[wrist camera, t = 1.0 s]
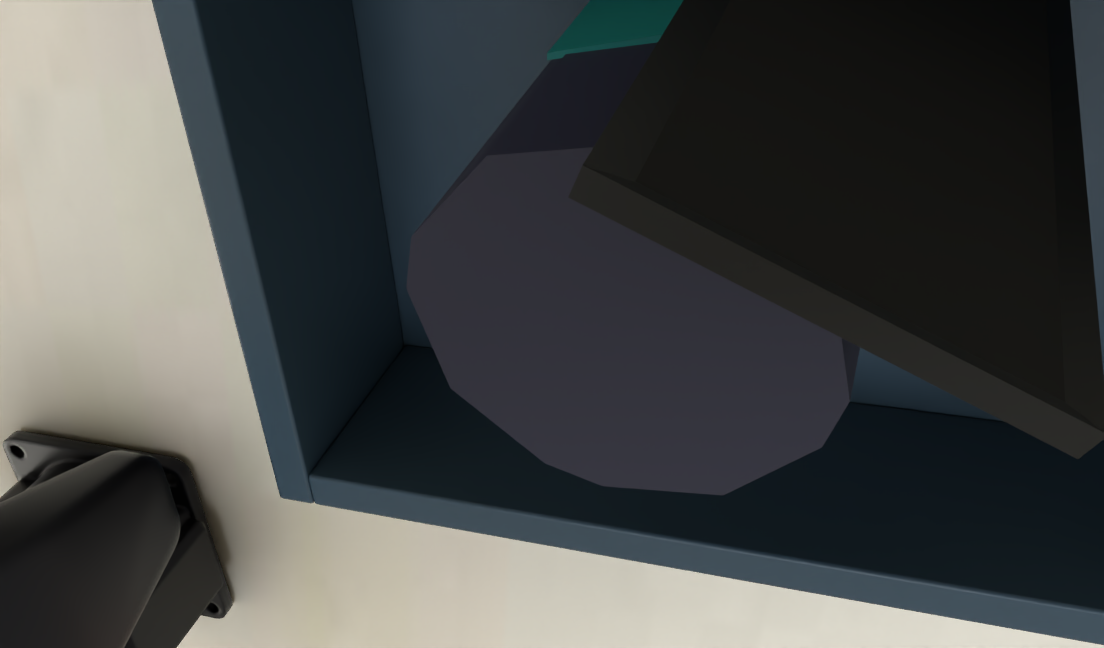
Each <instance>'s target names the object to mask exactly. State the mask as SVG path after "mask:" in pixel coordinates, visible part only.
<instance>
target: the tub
mask: <svg viewBox="0 0 1104 648" xmlns="http://www.w3.org/2000/svg"><path fill="white" fill-rule="evenodd" d="M589 1H590V0H152V3H153V7H154V10H155V14H156V18H157V22H158V26H159V30H160V34H161V37H162V41H163V45H164V49H165V53H166V57H167V61H168V65H169V68H170V72H171V76H172V80H173V84H174V88H175V92H176V95H177V99H178V103H179V107H180V111H181V115H182V119H183V123H184V126H185V130H186V134H187V138H188V142H189V146H190V150H191V153H192V157H193V161H194V165H195V169H196V173H197V177H198V180H199V184H200V188H201V192H202V196H203V200H204V204H205V208H206V211H207V215H208V219H209V223H210V227H211V231H212V235H213V238H214V242H215V246H216V250H217V254H218V258H219V262H220V266H221V269H222V273H223V277H224V281H225V285H226V289H227V293H228V296H229V300H230V304H231V308H232V312H233V316H234V320H235V324H236V327H237V331H238V335H239V339H240V343H241V347H242V351H243V354H244V358H245V362H246V366H247V370H248V374H249V378H250V381H251V385H252V389H253V393H254V397H255V401H256V405H257V409H258V412H259V416H260V420H261V424H262V428H263V432H264V436H265V439H266V443H267V447H268V451H269V455H270V459H271V463H272V467H273V470H274V474H275V478H276V482H277V486H278V490H279V494H280V496H281V497H282V498H284V499H290V500H296V501H301V502H307V503H313V502H315V503H316V504H319V505H325V506H330V507H336V508H341V509H347V510H353V511H358V512H364V513H369V514H375V515H380V516H386V517H392V518H397V519H403V520H408V521H414V522H420V523H425V524H431V525H436V526H442V527H447V528H453V529H459V530H464V531H470V532H475V533H481V534H487V535H492V536H498V537H503V538H509V539H514V540H520V541H526V542H531V543H537V544H542V545H548V546H554V547H559V548H565V549H570V550H576V551H581V552H587V553H593V554H598V555H604V556H609V557H615V558H621V559H626V560H632V561H637V562H643V563H648V564H654V565H660V566H665V567H671V568H676V569H682V570H688V571H693V572H699V573H704V574H710V575H715V576H721V577H727V578H732V579H738V580H743V581H749V582H755V583H760V584H766V585H771V586H777V587H782V588H788V589H794V590H799V591H805V592H810V593H816V594H822V595H827V596H833V597H838V598H844V599H849V600H855V601H861V602H866V603H872V604H877V605H883V606H889V607H894V608H900V609H905V610H911V611H916V612H922V613H928V614H933V615H939V616H944V617H950V618H956V619H961V620H967V621H972V622H978V623H983V624H989V625H995V626H1000V627H1006V628H1011V629H1017V630H1023V631H1028V632H1034V633H1039V634H1045V635H1051V636H1056V637H1062V638H1067V639H1073V640H1078V641H1084V642H1090V643H1095V644H1101V645H1104V440H1102V441H1101V442H1100V443H1098V444H1097V445H1096V446H1095V447H1093V448H1092V449H1091V450H1089V451H1088V452H1087V453H1086V454H1084V455H1083V456H1082V457H1080V458H1079V459H1076V458H1074V457H1072V456H1070V455H1068V454H1067V453H1065V452H1063V451H1061V450H1059V449H1057V448H1055V447H1053V446H1051V445H1049V444H1047V443H1045V442H1043V441H1041V440H1039V439H1037V438H1035V437H1033V436H1032V435H1030V434H1028V433H1026V432H1024V431H1022V430H1020V429H1018V428H1016V427H1014V426H1012V425H1010V424H1008V423H1006V422H1004V421H1002V420H1000V419H998V418H996V417H995V416H993V415H991V414H989V413H987V412H985V411H983V410H981V409H979V408H977V407H975V406H973V405H971V404H969V403H967V402H965V401H963V400H961V399H960V398H958V397H956V396H954V395H952V394H950V393H948V392H946V391H944V390H942V389H940V388H938V387H936V386H934V385H932V384H930V383H928V382H926V381H924V380H923V379H921V378H919V377H917V376H915V375H913V374H911V373H909V372H907V371H905V370H903V369H901V368H899V367H897V366H895V365H893V364H891V363H889V362H888V361H886V360H884V359H882V358H880V357H878V356H876V355H874V354H872V353H870V352H868V351H866V350H864V349H862V348H860V351H859V356H858V362H857V367H856V372H855V377H854V382H853V388H852V393H851V398H850V402H849V404H848V405H847V407H846V409H845V410H844V412H843V414H842V415H841V417H840V419H839V420H838V422H837V424H836V425H835V427H834V429H833V430H832V432H831V433H830V435H829V437H828V438H827V440H826V442H825V443H824V445H823V447H822V448H820V449H818V450H816V451H814V452H812V453H810V454H807V455H805V456H803V457H801V458H799V459H797V460H795V461H793V462H791V463H789V464H787V465H785V466H783V467H781V468H779V469H777V470H775V471H772V472H770V473H768V474H766V475H764V476H762V477H760V478H758V479H756V480H754V481H752V482H750V483H748V484H746V485H744V486H742V487H740V488H737V489H735V490H733V491H731V492H729V493H727V494H725V495H711V494H698V493H685V492H671V491H658V490H645V489H632V488H619V487H605V486H601V485H598V484H596V483H593V482H591V481H588V480H586V479H583V478H581V477H578V476H576V475H573V474H571V473H568V472H565V471H563V470H560V469H558V468H555V467H553V466H550V465H548V464H545V463H544V462H543V461H541V460H540V459H539V458H538V457H536V456H535V455H534V454H532V453H531V452H530V451H529V450H527V449H526V448H525V447H524V446H522V445H521V444H520V443H519V442H517V441H516V440H515V439H514V438H512V437H511V436H510V435H509V434H507V433H506V432H505V431H504V430H502V429H501V428H500V427H499V426H497V425H496V424H495V423H494V422H492V421H491V420H490V419H488V418H487V417H486V416H485V415H483V414H482V413H481V412H480V411H478V410H477V409H476V408H475V407H473V406H472V405H471V404H470V403H468V402H467V401H466V400H465V399H463V398H462V397H461V396H460V395H458V394H457V393H456V392H455V391H453V390H452V389H451V388H450V386H449V384H448V382H447V379H446V377H445V375H444V373H443V370H442V368H441V366H440V364H439V361H438V359H437V357H436V355H435V352H434V350H433V348H432V345H431V343H430V341H429V339H428V336H427V334H426V332H425V330H424V327H423V325H422V323H421V321H420V318H419V316H418V314H417V312H416V309H415V307H414V305H413V303H412V300H411V298H410V296H409V294H408V291H407V289H406V285H407V275H408V265H409V254H410V244H411V236H412V235H413V234H414V233H415V231H416V230H417V229H418V228H419V226H420V225H421V224H422V223H423V221H424V220H425V219H426V217H427V216H428V215H429V214H430V212H431V211H432V210H433V209H434V207H435V206H436V205H437V204H438V202H439V201H440V200H441V199H442V197H443V196H444V195H445V193H446V192H447V191H448V190H449V188H450V187H451V186H452V185H453V183H454V182H455V181H456V180H457V178H458V177H459V176H460V175H461V173H462V172H463V171H464V169H465V168H466V167H467V166H468V164H469V163H470V162H471V161H472V159H473V158H474V157H475V156H476V154H477V153H478V152H479V151H480V149H481V148H482V147H483V145H484V144H485V143H486V142H487V140H488V139H489V138H490V137H491V135H492V134H493V133H494V132H495V130H496V129H497V128H498V127H499V125H500V124H501V123H502V121H503V120H504V119H505V118H506V116H507V115H508V114H509V113H510V111H511V110H512V109H513V108H514V106H515V105H516V104H517V103H518V101H519V100H520V99H521V97H522V96H523V95H524V94H525V92H526V91H527V90H528V89H529V87H530V86H531V85H532V84H533V82H534V81H535V80H536V79H537V77H538V76H539V75H540V73H541V72H542V71H543V70H544V68H545V67H546V66H547V65H548V63H549V62H550V61H551V60H547V52H548V51H549V50H550V49H551V48H552V46H553V45H554V44H555V43H556V42H557V40H558V39H559V38H560V37H561V35H562V34H563V33H564V32H565V31H566V29H567V28H568V27H569V26H570V24H571V23H572V22H573V21H574V20H575V18H576V17H577V16H578V15H579V13H580V12H581V11H582V10H583V9H584V7H585V6H586V5H587V4H588V3H589ZM1070 7H1071V18H1072V29H1073V40H1074V51H1075V62H1076V73H1077V85H1078V96H1079V107H1080V118H1081V129H1082V140H1083V151H1084V162H1085V174H1086V185H1087V196H1088V207H1089V218H1090V229H1091V240H1092V251H1093V263H1094V274H1095V285H1096V296H1097V307H1098V318H1099V329H1100V340H1101V352H1102V363H1103V374H1104V0H1070Z"/></svg>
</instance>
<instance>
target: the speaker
mask: <svg viewBox="0 0 1104 648" xmlns="http://www.w3.org/2000/svg"><path fill="white" fill-rule="evenodd" d="M547 60H551V61H550V62H549V63H548V65H547V66H546V67H545V68H544V70H543V71H542V72H541V73H540V75H539V76H538V77H537V79H536V80H535V81H534V82H533V84H532V85H531V86H530V87H529V89H528V90H527V91H526V92H525V94H524V95H523V96H522V97H521V99H520V100H519V101H518V103H517V104H516V105H515V106H514V108H513V109H512V110H511V111H510V113H509V114H508V115H507V116H506V118H505V119H504V120H503V121H502V123H501V124H500V125H499V127H498V128H497V129H496V130H495V132H494V133H493V134H492V135H491V137H490V138H489V139H488V140H487V142H486V143H485V144H484V145H483V147H482V148H481V149H480V151H479V152H478V153H477V154H476V156H475V157H474V158H473V159H472V161H471V162H470V163H469V164H468V166H467V167H466V168H465V169H464V171H463V172H462V173H461V175H460V176H459V177H458V178H457V180H456V181H455V182H454V183H453V185H452V186H451V187H450V188H449V190H448V191H447V192H446V193H445V195H444V196H443V197H442V199H441V200H440V201H439V202H438V204H437V205H436V206H435V207H434V209H433V210H432V211H431V212H430V214H429V215H428V216H427V217H426V219H425V220H424V221H423V223H422V224H421V225H420V226H419V228H418V229H417V230H416V231H415V233H414V234H413V235H412V236H411V244H410V254H409V265H408V275H407V285H406V289H407V291H408V294H409V296H410V298H411V300H412V303H413V305H414V307H415V309H416V312H417V314H418V316H419V318H420V321H421V323H422V325H423V327H424V330H425V332H426V334H427V336H428V339H429V341H430V343H431V345H432V348H433V350H434V352H435V355H436V357H437V359H438V361H439V364H440V366H441V368H442V370H443V373H444V375H445V377H446V379H447V382H448V384H449V386H450V388H451V389H452V390H453V391H455V392H456V393H457V394H458V395H460V396H461V397H462V398H463V399H465V400H466V401H467V402H468V403H470V404H471V405H472V406H473V407H475V408H476V409H477V410H478V411H480V412H481V413H482V414H483V415H485V416H486V417H487V418H488V419H490V420H491V421H492V422H494V423H495V424H496V425H497V426H499V427H500V428H501V429H502V430H504V431H505V432H506V433H507V434H509V435H510V436H511V437H512V438H514V439H515V440H516V441H517V442H519V443H520V444H521V445H522V446H524V447H525V448H526V449H527V450H529V451H530V452H531V453H532V454H534V455H535V456H536V457H538V458H539V459H540V460H541V461H543V462H544V463H545V464H548V465H550V466H553V467H555V468H558V469H560V470H563V471H565V472H568V473H571V474H573V475H576V476H578V477H581V478H583V479H586V480H588V481H591V482H593V483H596V484H598V485H601V486H605V487H619V488H632V489H645V490H658V491H671V492H685V493H698V494H711V495H725V494H727V493H729V492H731V491H733V490H735V489H737V488H740V487H742V486H744V485H746V484H748V483H750V482H752V481H754V480H756V479H758V478H760V477H762V476H764V475H766V474H768V473H770V472H772V471H775V470H777V469H779V468H781V467H783V466H785V465H787V464H789V463H791V462H793V461H795V460H797V459H799V458H801V457H803V456H805V455H807V454H810V453H812V452H814V451H816V450H818V449H820V448H822V447H823V445H824V443H825V442H826V440H827V438H828V437H829V435H830V433H831V432H832V430H833V429H834V427H835V425H836V424H837V422H838V420H839V419H840V417H841V415H842V414H843V412H844V410H845V409H846V407H847V405H848V404H849V402H850V398H851V393H852V388H853V382H854V377H855V372H856V367H857V362H858V356H859V351H860V348H862V349H864V350H866V351H868V352H870V353H872V354H874V355H876V356H878V357H880V358H882V359H884V360H886V361H888V362H889V363H891V364H893V365H895V366H897V367H899V368H901V369H903V370H905V371H907V372H909V373H911V374H913V375H915V376H917V377H919V378H921V379H923V380H924V381H926V382H928V383H930V384H932V385H934V386H936V387H938V388H940V389H942V390H944V391H946V392H948V393H950V394H952V395H954V396H956V397H958V398H960V399H961V400H963V401H965V402H967V403H969V404H971V405H973V406H975V407H977V408H979V409H981V410H983V411H985V412H987V413H989V414H991V415H993V416H995V417H996V418H998V419H1000V420H1002V421H1004V422H1006V423H1008V424H1010V425H1012V426H1014V427H1016V428H1018V429H1020V430H1022V431H1024V432H1026V433H1028V434H1030V435H1032V436H1033V437H1035V438H1037V439H1039V440H1041V441H1043V442H1045V443H1047V444H1049V445H1051V446H1053V447H1055V448H1057V449H1059V450H1061V451H1063V452H1065V453H1067V454H1068V455H1070V456H1072V457H1074V458H1076V459H1079V458H1080V457H1082V456H1083V455H1084V454H1086V453H1087V452H1088V451H1089V450H1091V449H1092V448H1093V447H1095V446H1096V445H1097V444H1098V443H1100V442H1101V441H1102V440H1104V374H1103V363H1102V352H1101V340H1100V329H1099V318H1098V307H1097V296H1096V285H1095V274H1094V263H1093V251H1092V240H1091V229H1090V218H1089V207H1088V196H1087V185H1086V174H1085V162H1084V151H1083V140H1082V129H1081V118H1080V107H1079V96H1078V85H1077V73H1076V62H1075V51H1074V40H1073V29H1072V18H1071V7H1070V0H590V1H589V3H588V4H587V5H586V6H585V7H584V9H583V10H582V11H581V12H580V13H579V15H578V16H577V17H576V18H575V20H574V21H573V22H572V23H571V24H570V26H569V27H568V28H567V29H566V31H565V32H564V33H563V34H562V35H561V37H560V38H559V39H558V40H557V42H556V43H555V44H554V45H553V46H552V48H551V49H550V50H549V51H548V52H547Z"/></svg>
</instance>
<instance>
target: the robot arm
mask: <svg viewBox="0 0 1104 648" xmlns="http://www.w3.org/2000/svg"><path fill="white" fill-rule="evenodd" d="M3 447H4V450H5V452H6V455H7V457H8V459H9V462H10V464H11V466H12V468H13V471H14V473H15V475H16V477H17V480H18V482H17V483H16V484H15V485H14V486H13V487H12V488H11V489H10V490H9V491H7V492H6V493H5V494H4V495H3V496H2V497H1V498H0V648H176V647H177V646H178V645H179V643H180V642H181V641H182V639H183V638H184V637H185V635H186V634H187V633H188V631H189V630H190V629H191V627H192V626H193V625H194V623H195V622H196V621H197V619H198V618H199V617H200V615H203V616H208V617H212V618H223V617H224V616H225V615H226V614H227V612H228V611H229V610H230V608H231V607H232V599H231V596H230V593H229V590H228V587H227V584H226V580H225V577H224V574H223V571H222V568H221V565H220V561H219V558H218V555H217V552H216V549H215V546H214V543H213V539H212V536H211V533H210V530H209V527H208V524H207V520H206V517H205V514H204V511H203V508H202V505H201V502H200V498H199V495H198V492H197V489H196V486H195V483H194V479H193V476H192V473H191V471H190V469H189V467H188V466H187V465H186V464H185V463H184V462H182V461H181V460H179V459H177V458H174V457H169V456H163V455H157V454H151V453H145V452H140V451H134V450H128V449H122V448H117V447H111V446H105V445H99V444H93V443H88V442H82V441H76V440H70V439H64V438H59V437H53V436H47V435H41V434H35V433H30V432H24V431H16V432H14V433H13V434H12V435H11V436H9V437H8V438H7V439H6V440H5V441H4V443H3Z"/></svg>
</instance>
